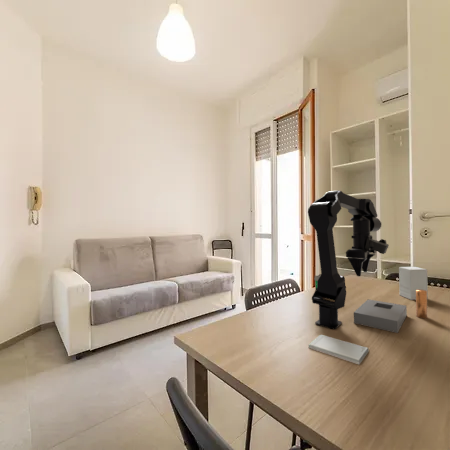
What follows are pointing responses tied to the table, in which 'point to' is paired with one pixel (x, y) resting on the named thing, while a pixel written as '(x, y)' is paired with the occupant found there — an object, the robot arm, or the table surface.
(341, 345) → the hard drive
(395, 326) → the grey block with hole
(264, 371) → the table surface
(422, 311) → the pin
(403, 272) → the supplement box
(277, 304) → the table surface
